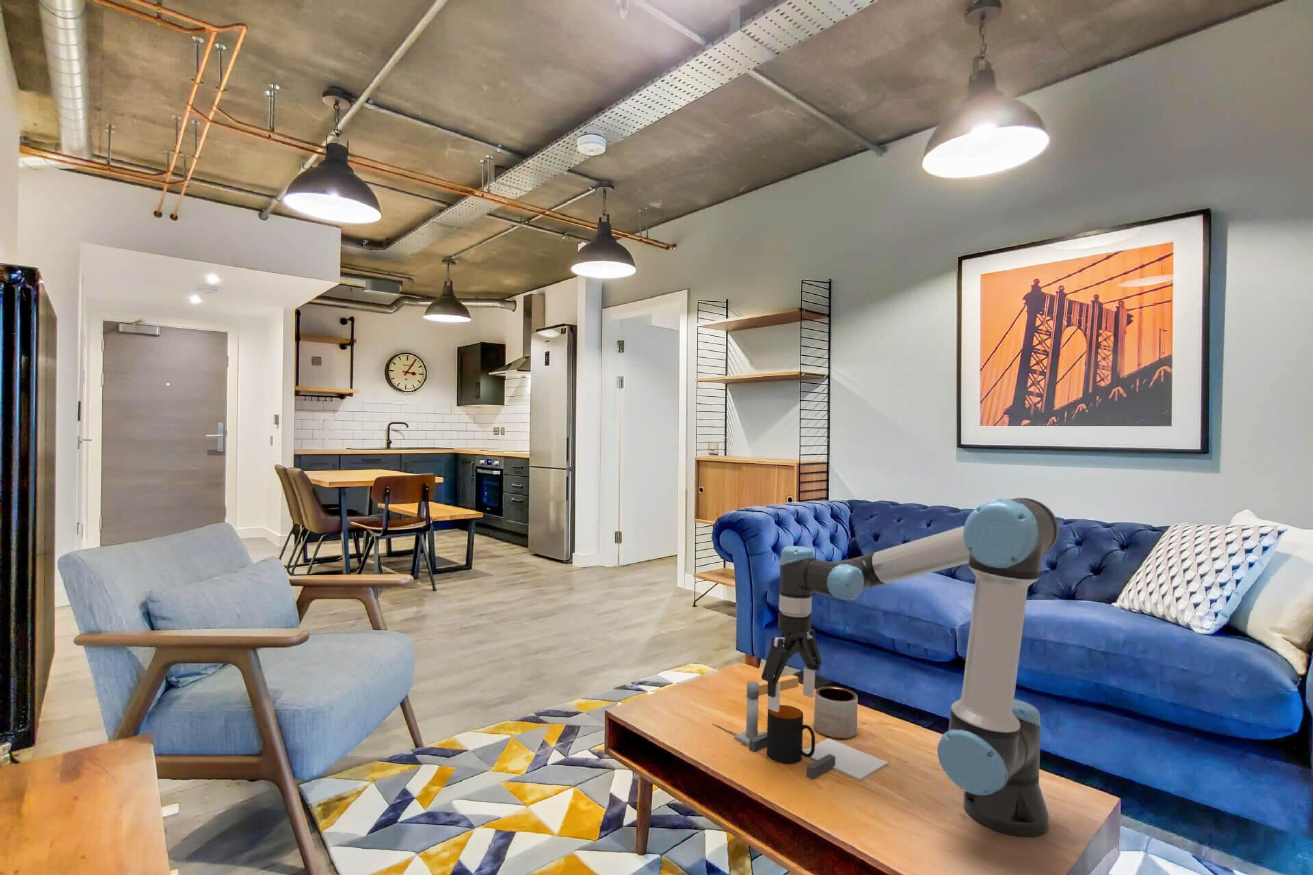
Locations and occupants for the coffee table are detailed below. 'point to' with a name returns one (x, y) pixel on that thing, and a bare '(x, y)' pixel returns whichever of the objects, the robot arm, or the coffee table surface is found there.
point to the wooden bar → (762, 686)
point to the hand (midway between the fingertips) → (791, 702)
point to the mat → (847, 759)
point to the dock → (760, 741)
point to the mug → (787, 735)
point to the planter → (835, 712)
